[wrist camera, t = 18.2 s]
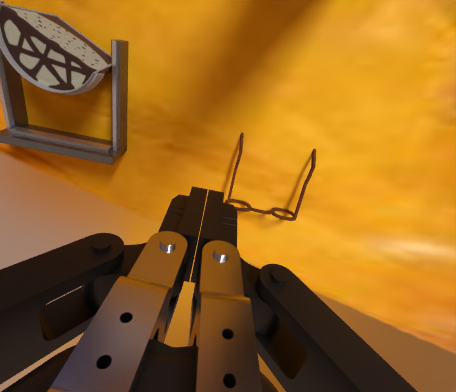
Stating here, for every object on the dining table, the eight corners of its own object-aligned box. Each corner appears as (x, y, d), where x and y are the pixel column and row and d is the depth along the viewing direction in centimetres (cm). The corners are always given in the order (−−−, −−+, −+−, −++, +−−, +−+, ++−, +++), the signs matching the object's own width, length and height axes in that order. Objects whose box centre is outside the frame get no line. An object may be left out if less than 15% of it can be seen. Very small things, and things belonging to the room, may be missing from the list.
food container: (32, 48, 40) (-26, 50, 31) (46, 7, 37) (-13, -3, 28) (110, 102, 43) (77, 118, 34) (127, 68, 40) (97, 76, 32)
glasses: (225, 198, 52) (224, 212, 47) (240, 131, 45) (240, 141, 41) (292, 211, 52) (297, 226, 48) (317, 147, 46) (325, 159, 42)
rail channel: (1, 12, 38) (-37, 8, 32) (128, 41, 39) (111, 41, 34) (22, 129, 46) (-6, 141, 41) (126, 150, 47) (112, 164, 42)
